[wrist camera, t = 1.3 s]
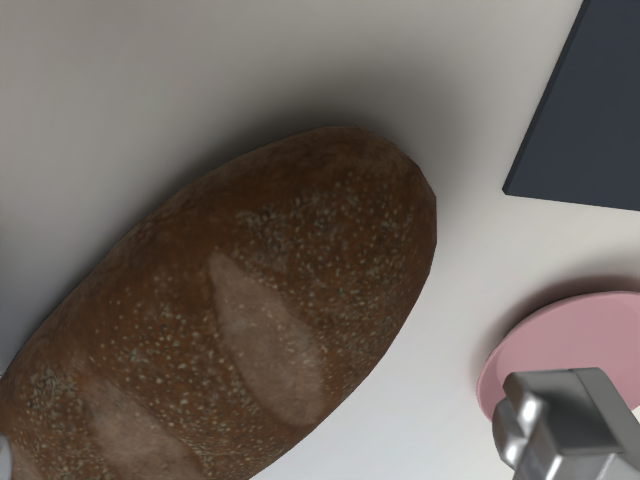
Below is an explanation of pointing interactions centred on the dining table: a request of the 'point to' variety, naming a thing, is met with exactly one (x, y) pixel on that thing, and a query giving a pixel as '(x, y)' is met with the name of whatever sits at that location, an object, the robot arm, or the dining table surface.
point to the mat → (588, 116)
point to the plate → (571, 344)
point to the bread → (227, 317)
